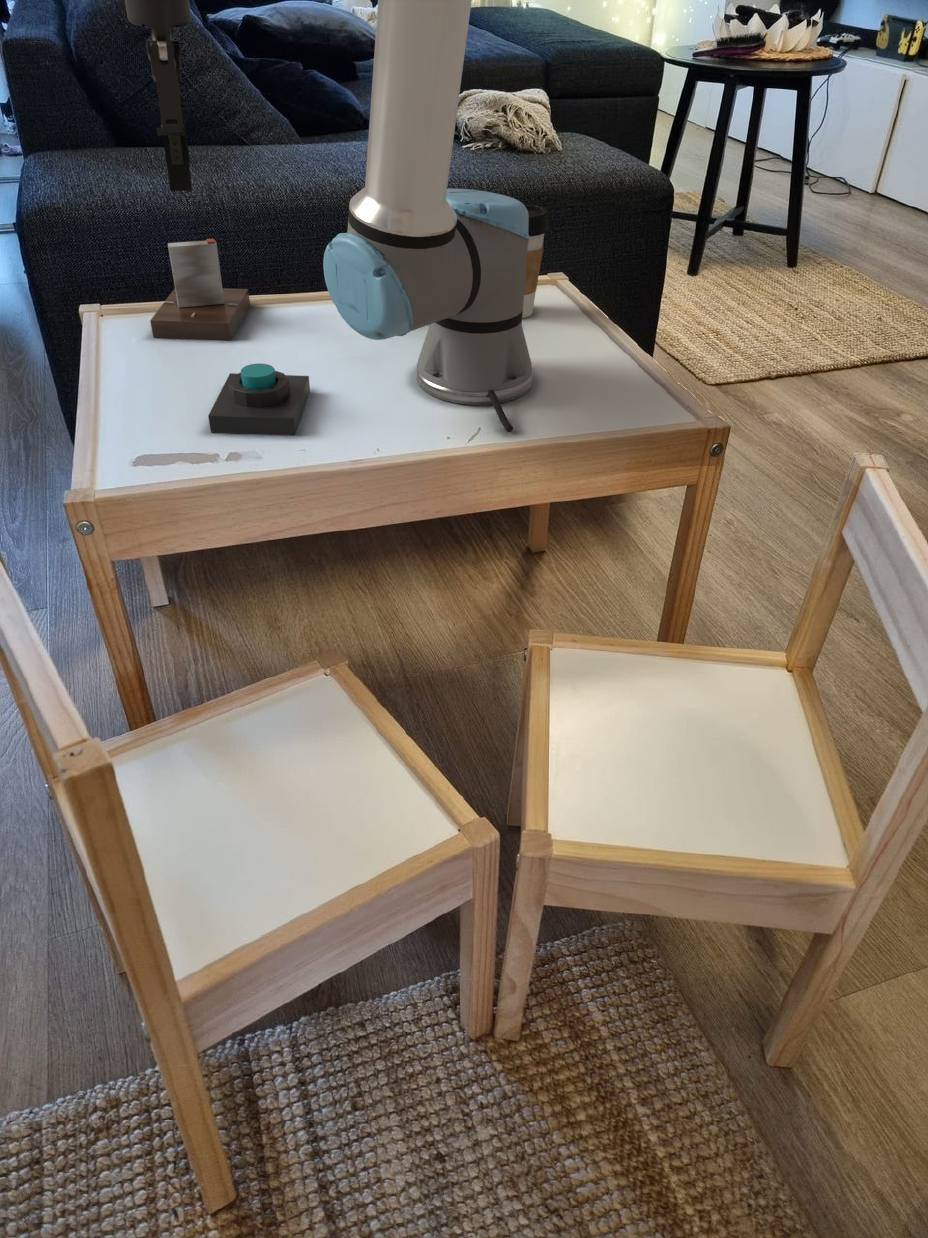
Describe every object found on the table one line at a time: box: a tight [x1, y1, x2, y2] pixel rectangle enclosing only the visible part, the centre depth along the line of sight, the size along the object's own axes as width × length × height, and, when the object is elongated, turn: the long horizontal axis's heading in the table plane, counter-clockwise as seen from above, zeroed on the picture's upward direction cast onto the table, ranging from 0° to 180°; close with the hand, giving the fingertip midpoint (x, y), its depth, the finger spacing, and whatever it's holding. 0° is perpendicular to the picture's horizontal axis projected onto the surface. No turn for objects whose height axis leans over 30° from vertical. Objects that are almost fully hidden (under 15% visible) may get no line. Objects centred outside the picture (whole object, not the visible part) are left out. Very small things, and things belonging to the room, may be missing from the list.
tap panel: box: [149, 287, 251, 341], centre depth 135 cm, size 14×11×3 cm
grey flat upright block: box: [167, 238, 224, 308], centre depth 131 cm, size 6×2×9 cm, turn 109°
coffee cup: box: [522, 204, 549, 319], centre depth 138 cm, size 8×8×15 cm
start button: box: [240, 362, 276, 389], centre depth 110 cm, size 4×4×2 cm
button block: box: [208, 370, 311, 436], centre depth 112 cm, size 12×10×4 cm
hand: (180, 175), depth 124 cm, fingers open, 13 cm apart
